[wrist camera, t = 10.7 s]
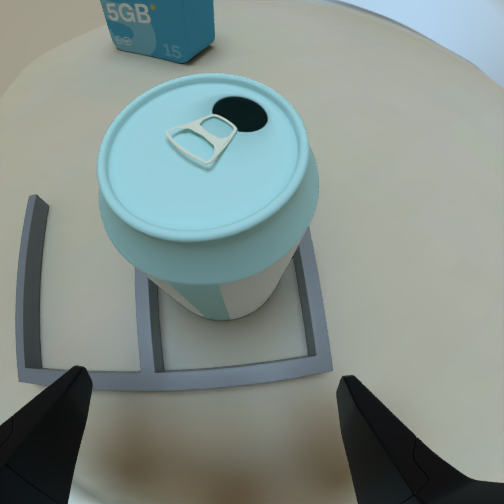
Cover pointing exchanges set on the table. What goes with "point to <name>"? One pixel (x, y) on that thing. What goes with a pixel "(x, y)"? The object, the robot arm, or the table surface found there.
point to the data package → (161, 26)
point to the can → (208, 190)
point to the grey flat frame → (149, 328)
